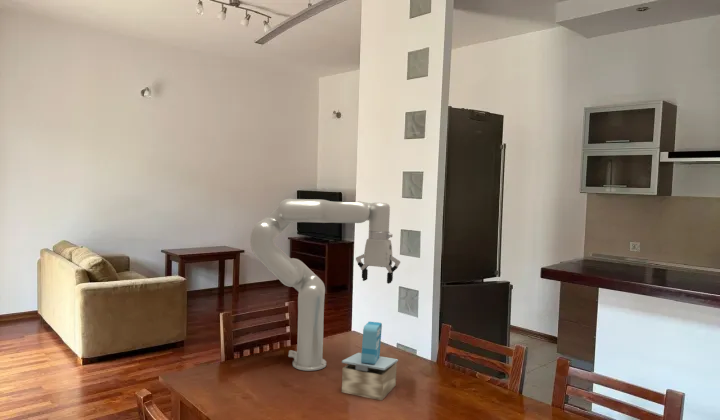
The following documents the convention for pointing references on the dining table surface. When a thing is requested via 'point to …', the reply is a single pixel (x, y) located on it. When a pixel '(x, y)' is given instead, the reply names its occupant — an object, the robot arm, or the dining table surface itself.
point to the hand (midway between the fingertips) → (376, 281)
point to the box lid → (380, 364)
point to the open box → (368, 381)
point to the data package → (371, 342)
